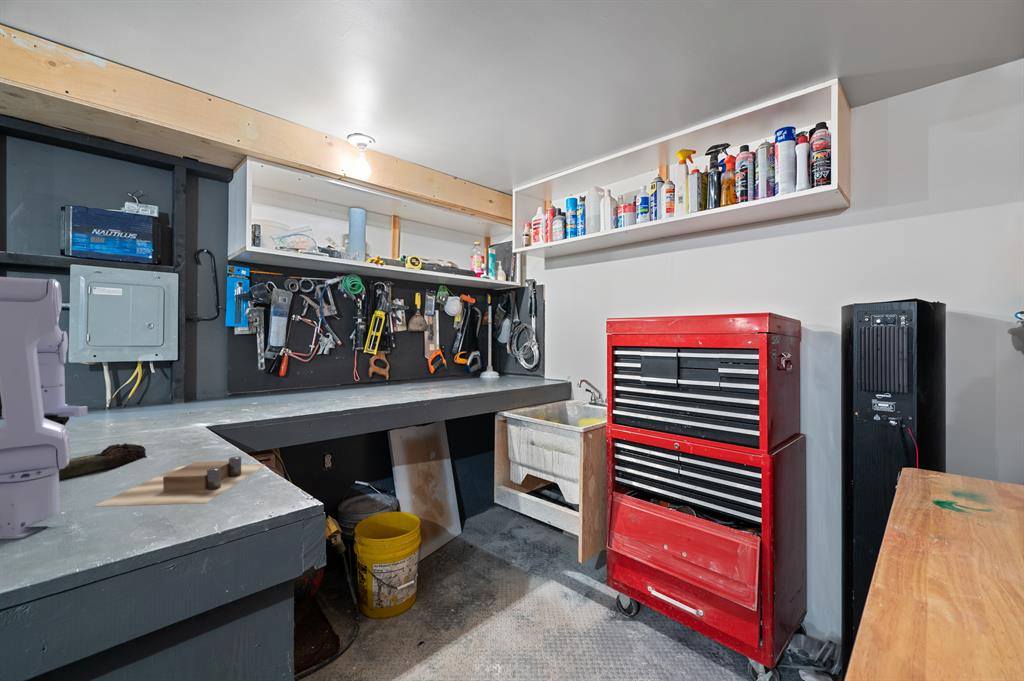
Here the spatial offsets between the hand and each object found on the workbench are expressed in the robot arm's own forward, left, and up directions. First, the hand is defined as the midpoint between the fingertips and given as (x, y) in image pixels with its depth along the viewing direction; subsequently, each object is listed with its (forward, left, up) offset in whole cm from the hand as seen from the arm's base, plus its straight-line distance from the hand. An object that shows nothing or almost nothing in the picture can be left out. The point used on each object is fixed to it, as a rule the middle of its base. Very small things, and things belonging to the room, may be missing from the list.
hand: (46, 451), depth 89 cm
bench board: (+2, -27, -9) cm, 29 cm away
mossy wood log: (+17, +4, -10) cm, 20 cm away
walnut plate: (+2, -29, -8) cm, 30 cm away
